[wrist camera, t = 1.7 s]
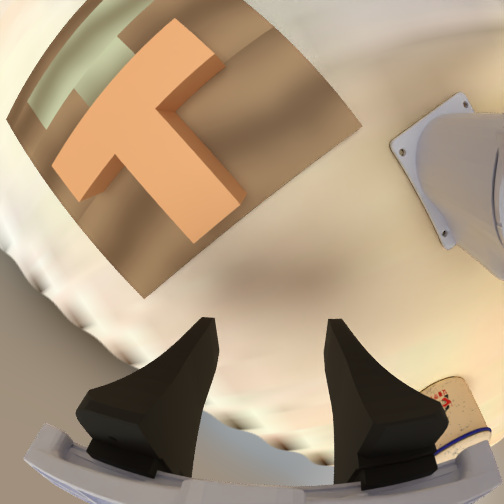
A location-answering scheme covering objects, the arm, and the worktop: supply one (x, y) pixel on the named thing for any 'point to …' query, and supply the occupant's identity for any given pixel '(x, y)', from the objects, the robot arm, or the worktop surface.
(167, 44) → the t block
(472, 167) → the robot arm
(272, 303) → the worktop surface
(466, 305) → the worktop surface
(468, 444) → the teacup with lid
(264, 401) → the worktop surface
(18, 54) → the worktop surface
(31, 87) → the board
